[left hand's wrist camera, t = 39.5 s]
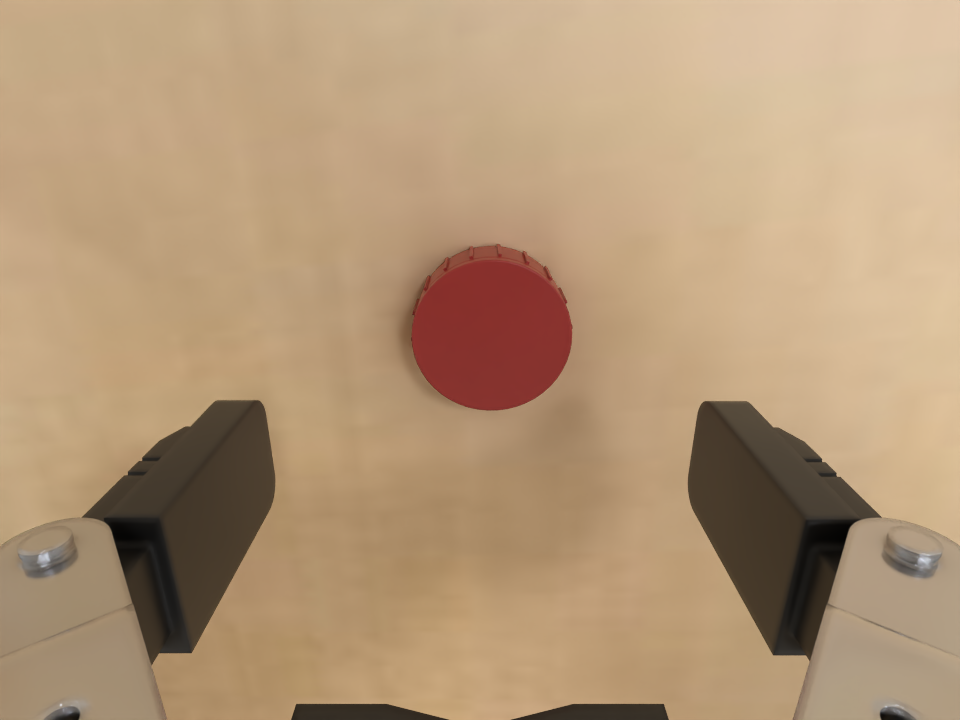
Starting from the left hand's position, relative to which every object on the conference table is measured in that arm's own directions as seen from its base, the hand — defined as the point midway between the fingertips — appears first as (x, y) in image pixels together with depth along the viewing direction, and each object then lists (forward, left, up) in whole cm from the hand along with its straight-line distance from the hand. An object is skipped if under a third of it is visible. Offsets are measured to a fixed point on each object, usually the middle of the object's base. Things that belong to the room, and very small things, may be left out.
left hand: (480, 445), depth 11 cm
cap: (+1, -1, -4) cm, 4 cm away
